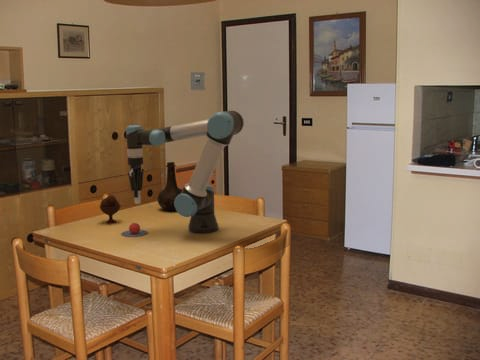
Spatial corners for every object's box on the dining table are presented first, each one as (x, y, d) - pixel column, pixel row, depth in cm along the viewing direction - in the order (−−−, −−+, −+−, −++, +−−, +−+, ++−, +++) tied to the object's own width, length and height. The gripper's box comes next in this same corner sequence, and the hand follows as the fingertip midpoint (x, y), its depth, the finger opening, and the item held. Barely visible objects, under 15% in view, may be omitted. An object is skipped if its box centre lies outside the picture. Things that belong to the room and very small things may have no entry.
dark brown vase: (183, 213, 325) (181, 164, 320) (153, 212, 328) (151, 164, 323) (192, 206, 342) (190, 160, 337) (163, 205, 346) (161, 160, 341)
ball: (141, 224, 280) (137, 235, 280) (142, 225, 286) (138, 235, 285) (130, 220, 280) (126, 231, 279) (131, 221, 286) (127, 231, 285)
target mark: (153, 232, 285) (153, 232, 285) (133, 238, 275) (133, 238, 274) (135, 228, 292) (135, 228, 292) (115, 234, 282) (115, 234, 282)
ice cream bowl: (123, 219, 312) (122, 193, 309) (117, 224, 301) (115, 197, 299) (104, 219, 313) (103, 193, 311) (98, 224, 302) (96, 197, 300)
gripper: (134, 154, 288) (136, 200, 292) (122, 158, 276) (124, 205, 280) (148, 155, 286) (150, 201, 290) (136, 158, 274) (138, 206, 278)
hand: (137, 203), depth 285 cm, fingers closed
